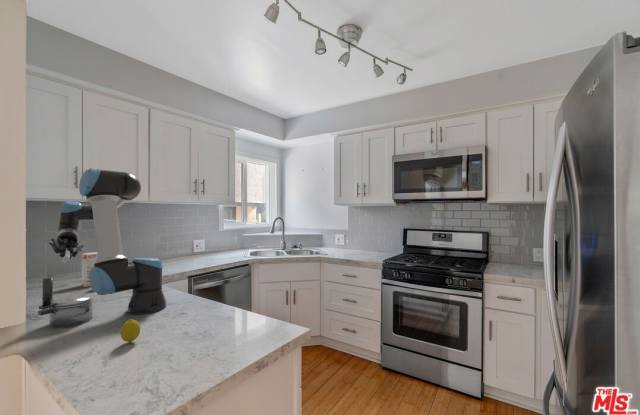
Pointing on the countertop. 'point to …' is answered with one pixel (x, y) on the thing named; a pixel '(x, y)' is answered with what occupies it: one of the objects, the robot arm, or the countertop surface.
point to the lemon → (130, 330)
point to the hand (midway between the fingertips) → (66, 259)
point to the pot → (69, 315)
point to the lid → (63, 301)
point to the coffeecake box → (87, 266)
